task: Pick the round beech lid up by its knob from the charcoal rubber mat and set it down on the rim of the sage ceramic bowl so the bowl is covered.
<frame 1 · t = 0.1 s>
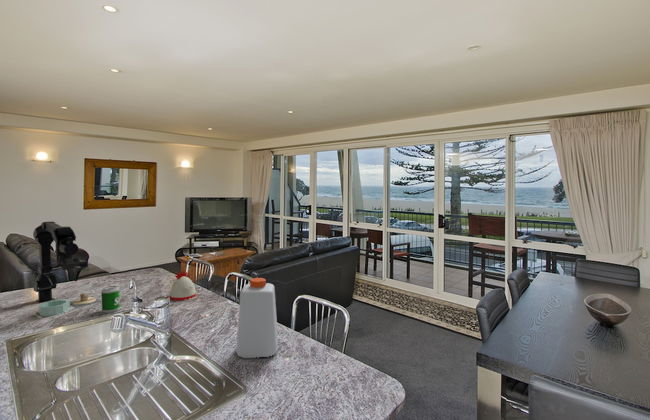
hand: (64, 283, 162), 15 cm above the kitchen counter, tool pointing down, fingers open, 9 cm apart
lid: (84, 301, 177), resting on mat
mat: (84, 302, 177), on the kitchen counter
soda can: (111, 311, 166), on the kitchen counter
kitchen timer: (183, 296, 189), on the kitchen counter
bowl: (54, 312, 163), on the kitchen counter
plastic bottle: (258, 350, 129), on the kitchen counter
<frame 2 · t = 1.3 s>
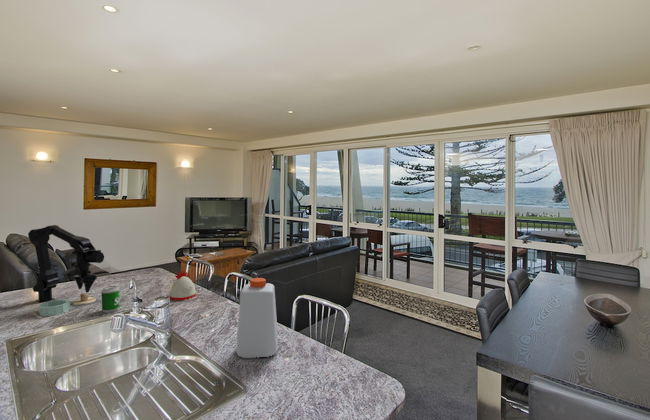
hand: (83, 290, 176), 7 cm above the kitchen counter, tool pointing down, fingers open, 9 cm apart
nothing on the kitchen counter moved.
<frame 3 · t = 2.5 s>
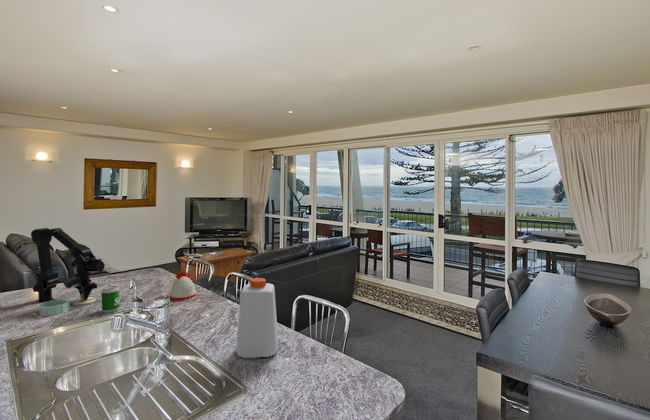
hand: (84, 299, 177), 2 cm above the kitchen counter, tool pointing down, fingers closed on lid, 3 cm apart
lid: (84, 301, 177), resting on mat, touching gripper
everything else where it was.
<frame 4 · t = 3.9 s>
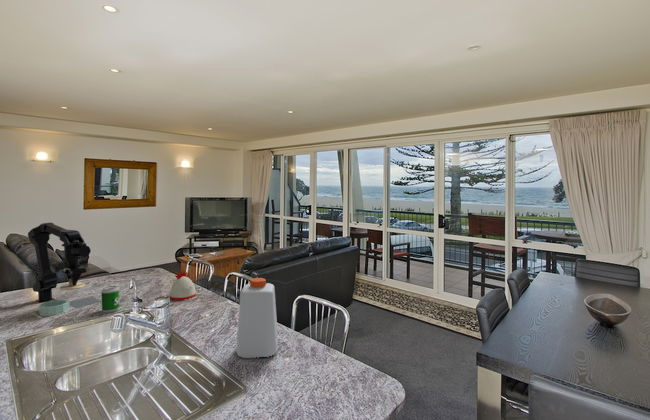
hand: (72, 284, 171), 11 cm above the kitchen counter, tool pointing down, fingers closed on lid, 3 cm apart
lid: (72, 287, 171), point 10 cm above the kitchen counter, touching gripper
everything else where it was.
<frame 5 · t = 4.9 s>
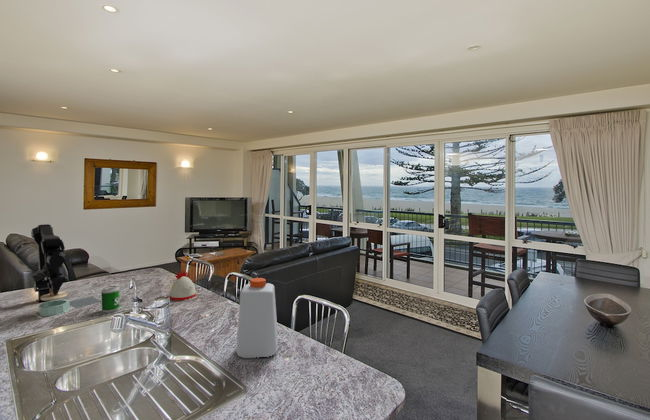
hand: (54, 294, 162), 9 cm above the kitchen counter, tool pointing down, fingers closed on lid, 3 cm apart
lid: (54, 296, 162), point 8 cm above the kitchen counter, touching gripper
everything else where it was.
when the fingers open (7 cm above the kitchen counter, at t = 5.5 s): lid drops 1 cm, resting on bowl.
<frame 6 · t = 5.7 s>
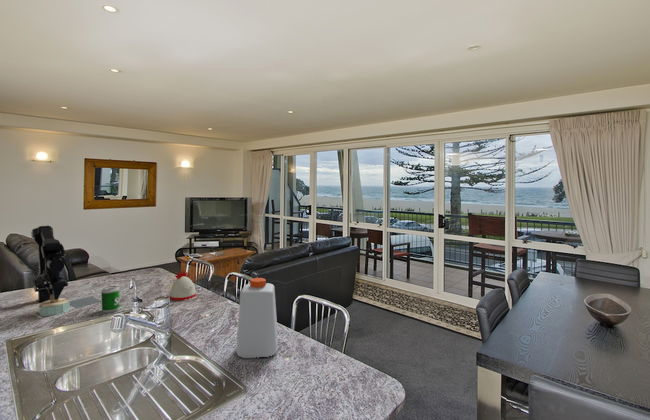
hand: (54, 298, 162), 7 cm above the kitchen counter, tool pointing down, fingers open, 5 cm apart
lid: (54, 303, 163), point 4 cm above the kitchen counter, touching bowl
everything else where it was.
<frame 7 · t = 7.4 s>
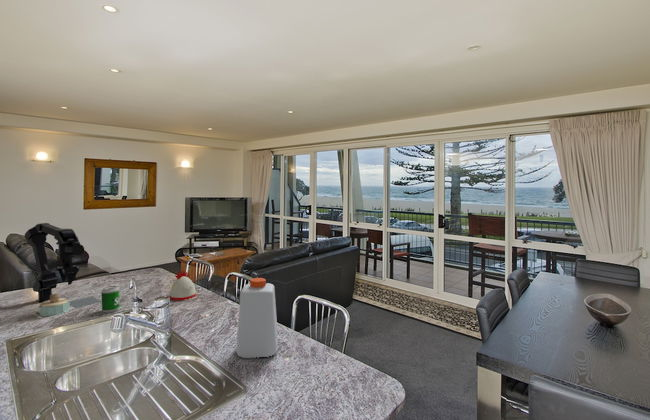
hand: (66, 282, 171), 12 cm above the kitchen counter, tool pointing down, fingers open, 9 cm apart
nothing on the kitchen counter moved.
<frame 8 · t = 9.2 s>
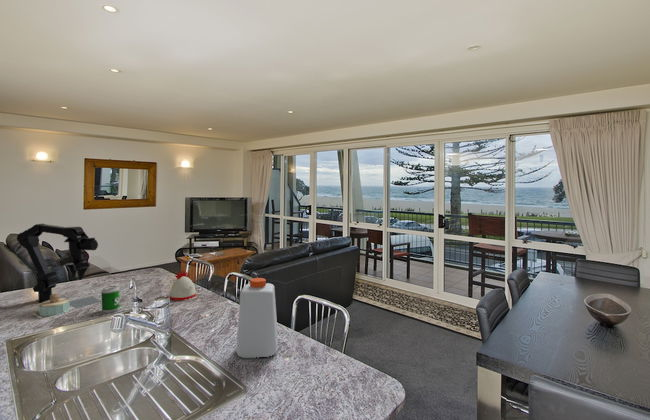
hand: (76, 278, 178), 13 cm above the kitchen counter, tool pointing down, fingers open, 9 cm apart
nothing on the kitchen counter moved.
at the end: lid 0.1 cm off-centre on the bowl, point 4.5 cm above the bowl's base; lid tilted 0°; the gripper is holding nothing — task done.
